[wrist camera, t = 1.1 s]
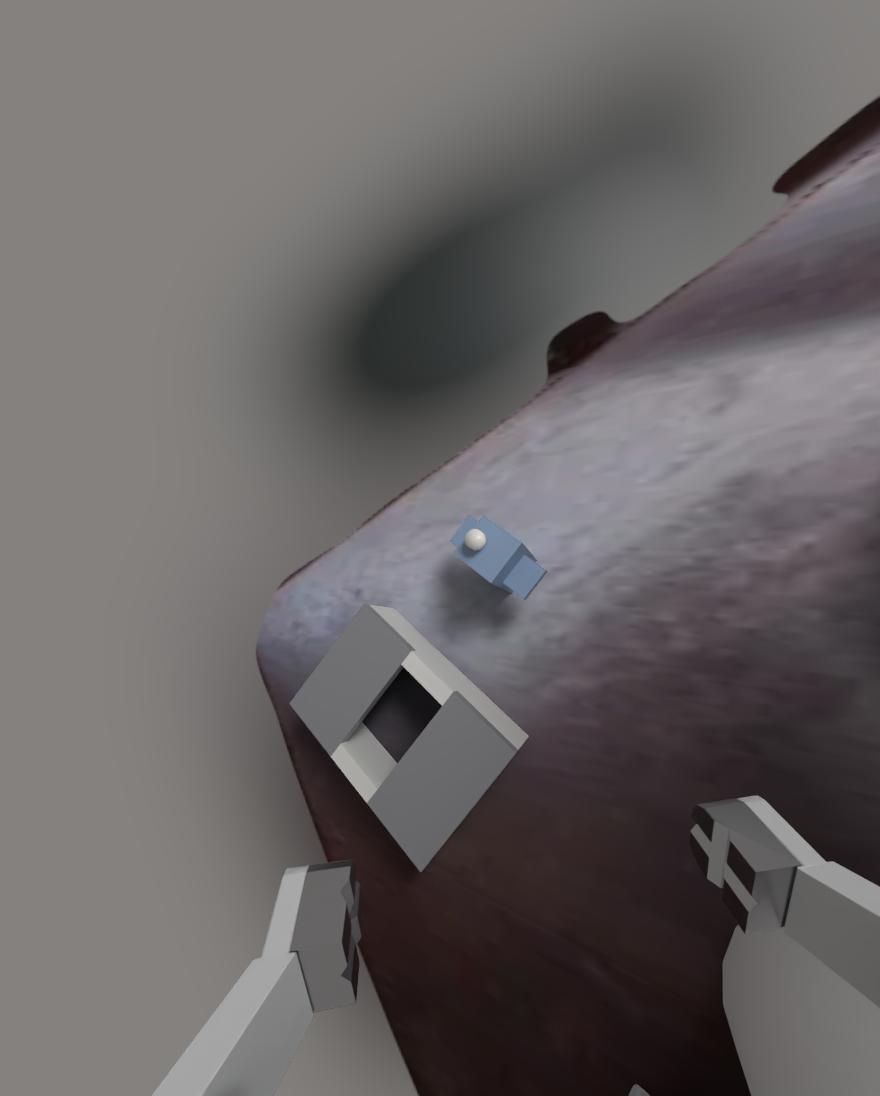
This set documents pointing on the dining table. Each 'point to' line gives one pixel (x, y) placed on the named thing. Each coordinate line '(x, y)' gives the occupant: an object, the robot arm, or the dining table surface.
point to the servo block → (497, 556)
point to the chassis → (436, 755)
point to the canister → (797, 1021)
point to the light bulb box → (637, 1091)
